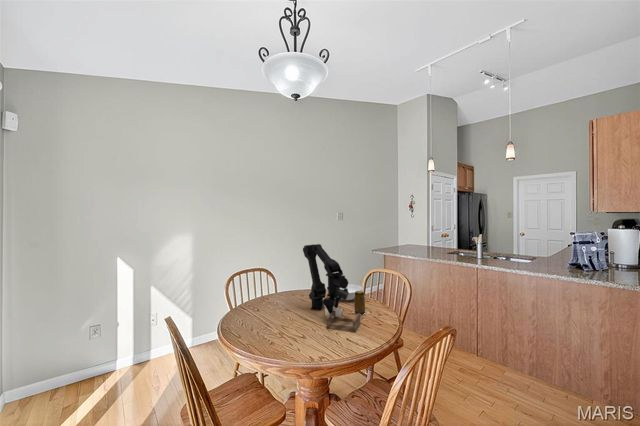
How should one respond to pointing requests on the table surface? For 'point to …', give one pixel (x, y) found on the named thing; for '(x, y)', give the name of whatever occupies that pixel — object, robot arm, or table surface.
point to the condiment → (359, 303)
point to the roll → (337, 312)
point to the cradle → (343, 323)
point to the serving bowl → (352, 291)
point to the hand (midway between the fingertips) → (333, 312)
